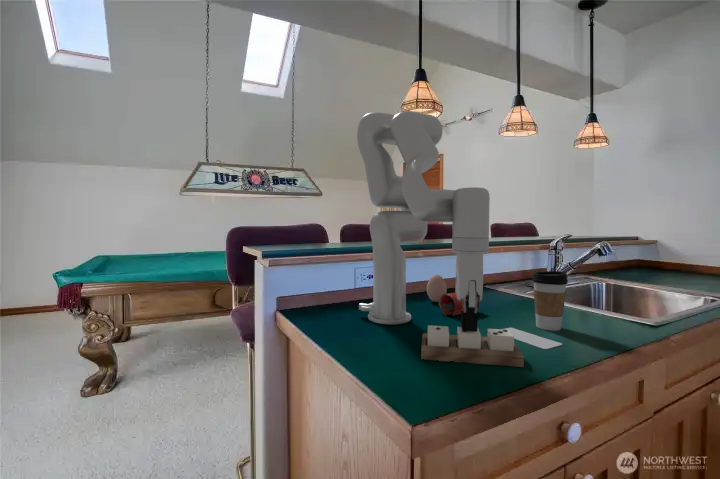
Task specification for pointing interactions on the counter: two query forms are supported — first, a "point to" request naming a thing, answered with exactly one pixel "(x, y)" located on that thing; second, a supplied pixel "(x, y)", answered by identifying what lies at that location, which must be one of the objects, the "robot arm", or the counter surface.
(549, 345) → the smartphone
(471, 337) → the white die
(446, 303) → the beverage can
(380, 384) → the counter surface
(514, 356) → the board
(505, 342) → the white die
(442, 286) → the egg
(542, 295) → the coffee cup
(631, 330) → the counter surface
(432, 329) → the white die
